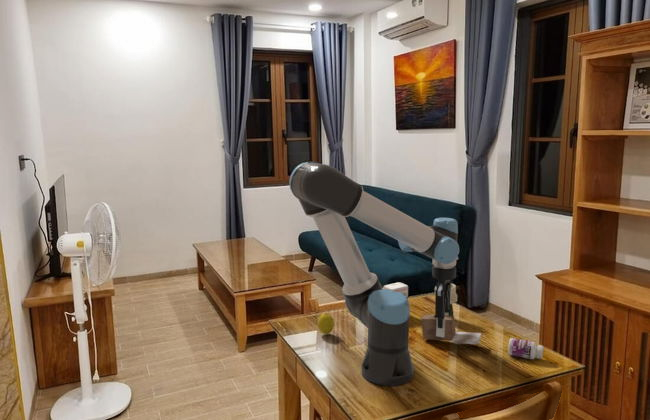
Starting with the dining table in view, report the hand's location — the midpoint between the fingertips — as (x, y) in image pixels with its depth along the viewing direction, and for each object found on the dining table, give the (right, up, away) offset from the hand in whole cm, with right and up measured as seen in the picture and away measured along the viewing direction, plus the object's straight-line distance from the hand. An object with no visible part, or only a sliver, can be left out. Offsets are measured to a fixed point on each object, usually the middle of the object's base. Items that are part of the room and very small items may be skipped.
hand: (441, 333), depth 165 cm
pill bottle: (+19, -2, -9) cm, 21 cm away
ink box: (-12, +1, +25) cm, 28 cm away
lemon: (-39, -2, +7) cm, 39 cm away
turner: (+4, -1, -2) cm, 4 cm away
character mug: (+6, 0, +21) cm, 22 cm away
